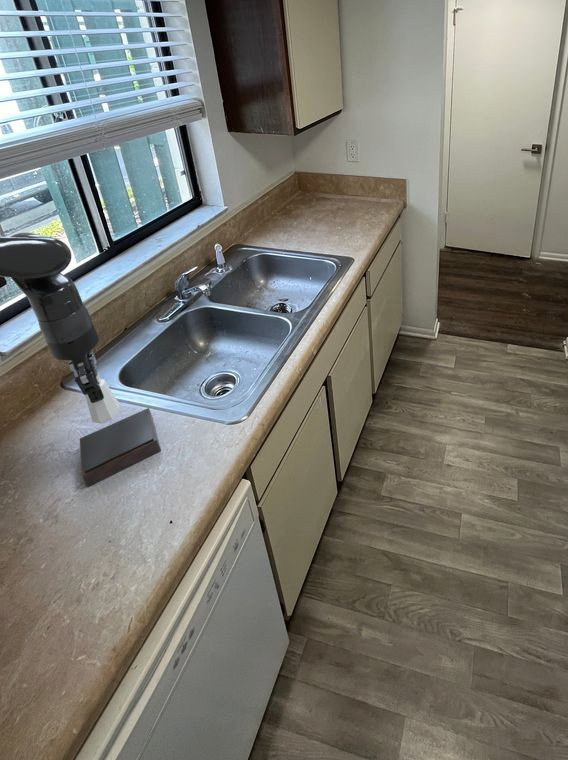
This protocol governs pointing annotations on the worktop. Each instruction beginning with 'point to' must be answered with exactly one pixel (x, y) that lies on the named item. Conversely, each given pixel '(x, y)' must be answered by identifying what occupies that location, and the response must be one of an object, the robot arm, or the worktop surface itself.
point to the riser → (118, 447)
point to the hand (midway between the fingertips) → (97, 393)
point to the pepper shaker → (103, 405)
